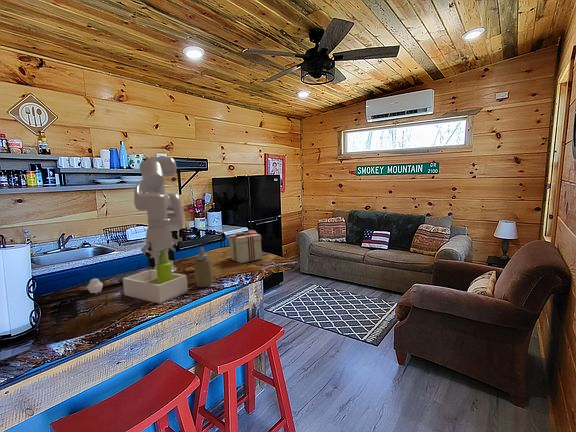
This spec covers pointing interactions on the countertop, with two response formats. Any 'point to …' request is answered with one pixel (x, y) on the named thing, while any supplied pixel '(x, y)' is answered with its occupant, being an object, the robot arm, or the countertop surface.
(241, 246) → the gift box
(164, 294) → the caddy
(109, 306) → the countertop surface
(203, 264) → the squeeze bottle
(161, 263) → the soap dispenser
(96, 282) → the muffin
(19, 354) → the countertop surface
